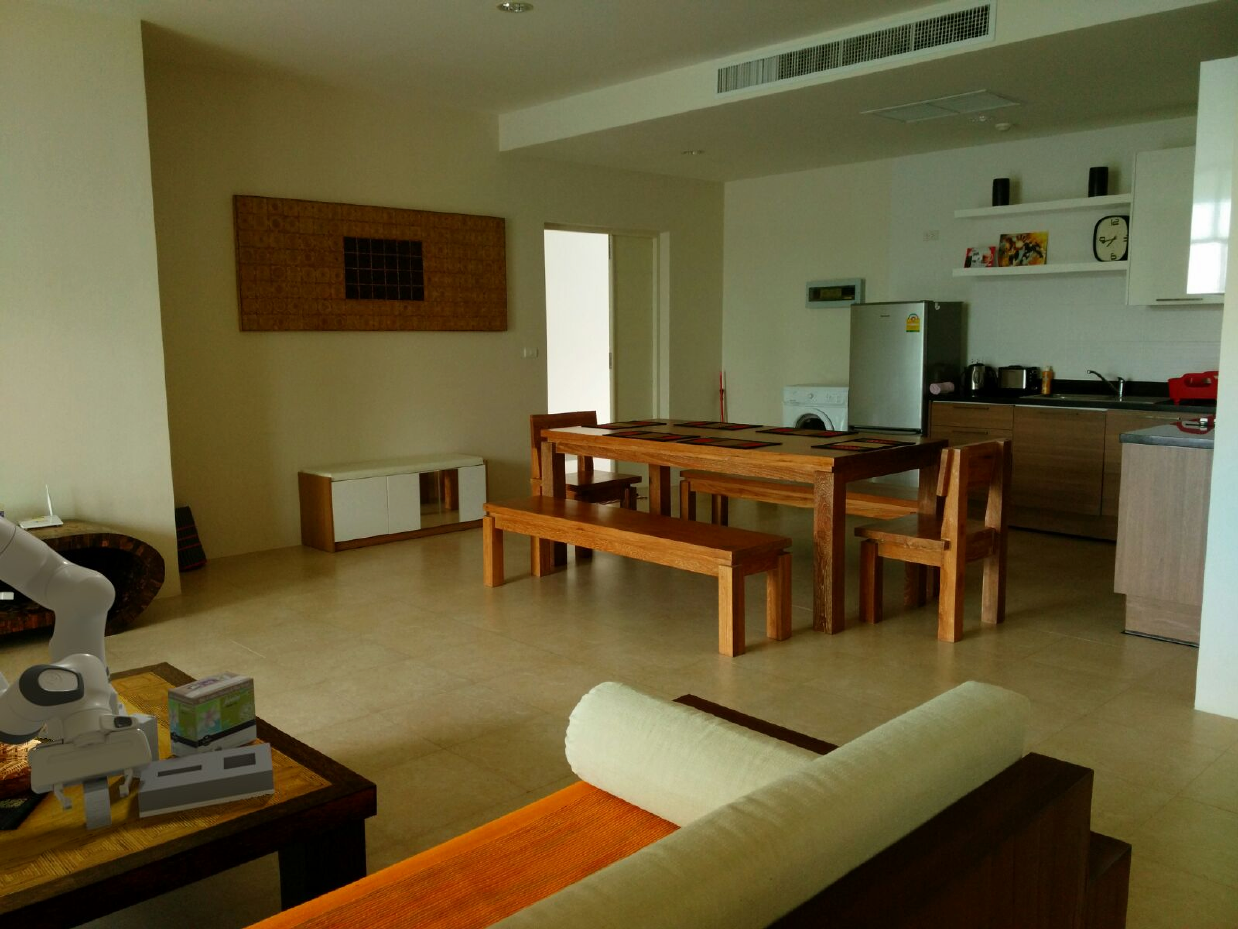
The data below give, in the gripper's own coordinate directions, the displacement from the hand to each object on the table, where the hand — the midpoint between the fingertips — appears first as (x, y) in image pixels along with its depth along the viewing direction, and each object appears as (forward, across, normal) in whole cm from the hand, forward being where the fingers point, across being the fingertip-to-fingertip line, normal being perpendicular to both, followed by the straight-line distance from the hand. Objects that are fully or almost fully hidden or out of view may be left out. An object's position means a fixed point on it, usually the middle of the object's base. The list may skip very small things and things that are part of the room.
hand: (96, 802), depth 182 cm
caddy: (+1, +20, +6) cm, 21 cm away
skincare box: (-10, +9, +17) cm, 22 cm away
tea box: (-14, +24, +21) cm, 35 cm away
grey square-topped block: (+3, 0, +4) cm, 5 cm away
